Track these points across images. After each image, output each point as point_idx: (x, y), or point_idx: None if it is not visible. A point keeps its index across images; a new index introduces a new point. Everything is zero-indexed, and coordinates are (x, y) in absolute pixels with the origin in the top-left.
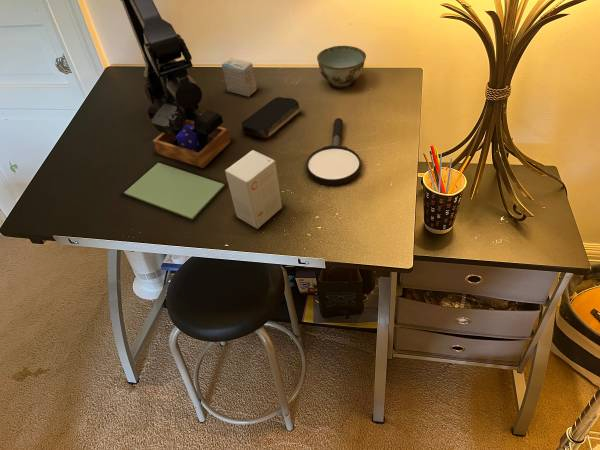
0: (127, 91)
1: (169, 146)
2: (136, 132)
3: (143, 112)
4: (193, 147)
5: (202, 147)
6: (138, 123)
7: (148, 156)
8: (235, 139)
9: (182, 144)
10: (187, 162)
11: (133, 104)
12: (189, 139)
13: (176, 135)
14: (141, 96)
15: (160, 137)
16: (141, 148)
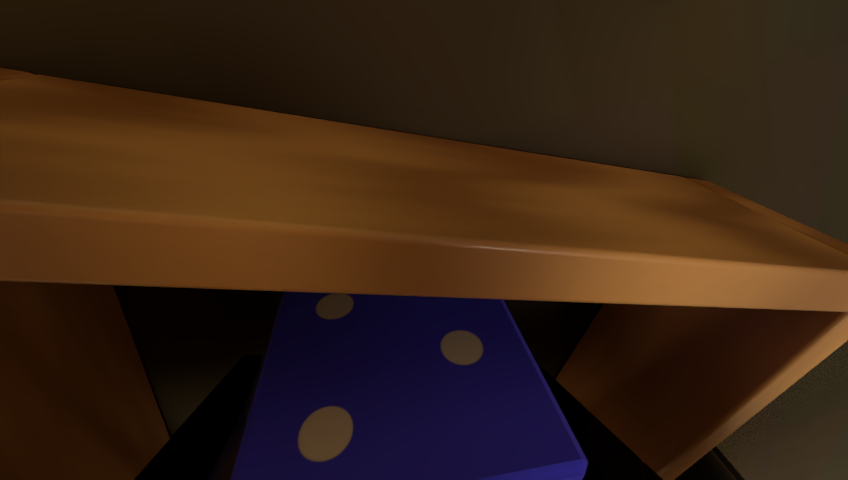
0: (828, 465)
1: (644, 249)
2: None
3: (780, 426)
4: (311, 343)
5: (241, 368)
6: (816, 375)
7: (796, 118)
8: None
9: (465, 343)
10: (301, 120)
11: (818, 438)
12: (324, 476)
13: (583, 420)
14: (779, 469)
15: (788, 356)
16: (842, 204)
